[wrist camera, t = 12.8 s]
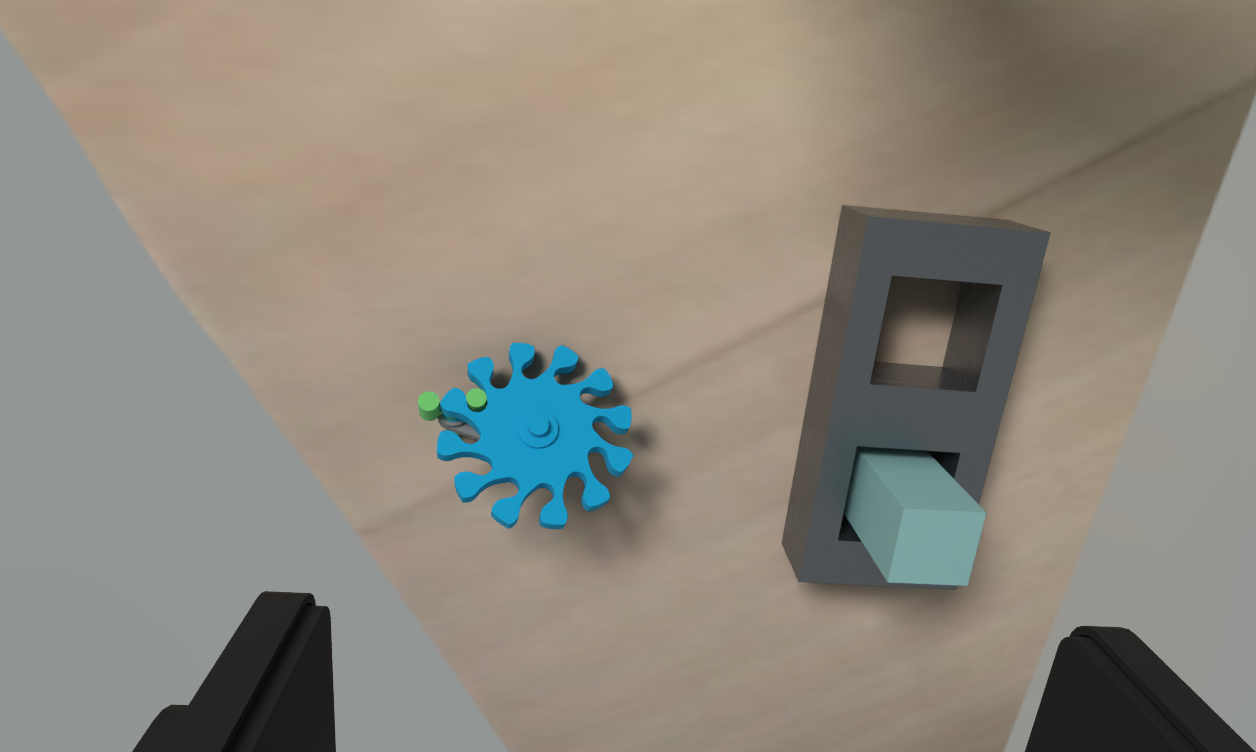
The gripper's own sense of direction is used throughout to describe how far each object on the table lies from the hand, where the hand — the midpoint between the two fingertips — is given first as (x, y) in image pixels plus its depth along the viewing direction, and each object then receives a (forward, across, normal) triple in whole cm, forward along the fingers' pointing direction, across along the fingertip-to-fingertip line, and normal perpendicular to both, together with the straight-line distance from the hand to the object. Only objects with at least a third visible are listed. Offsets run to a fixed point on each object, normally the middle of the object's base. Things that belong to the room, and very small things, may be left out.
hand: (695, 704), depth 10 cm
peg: (+33, -16, +12) cm, 39 cm away
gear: (+34, +4, +9) cm, 35 cm away
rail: (+33, -16, +7) cm, 38 cm away
